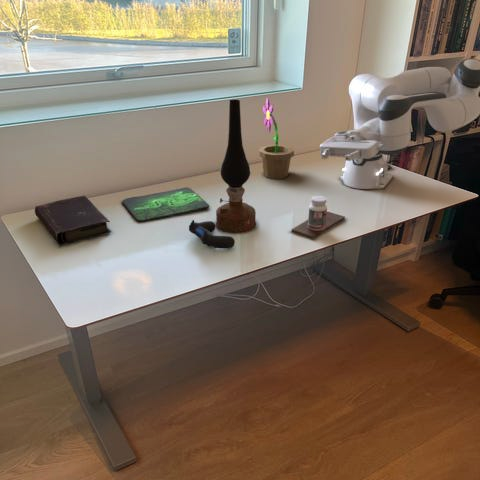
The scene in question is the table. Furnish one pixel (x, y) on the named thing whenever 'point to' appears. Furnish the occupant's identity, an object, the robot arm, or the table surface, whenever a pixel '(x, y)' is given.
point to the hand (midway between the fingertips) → (335, 157)
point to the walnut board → (330, 222)
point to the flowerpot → (274, 151)
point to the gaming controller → (210, 235)
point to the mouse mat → (164, 204)
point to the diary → (72, 220)
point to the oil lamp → (235, 180)
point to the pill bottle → (317, 213)
